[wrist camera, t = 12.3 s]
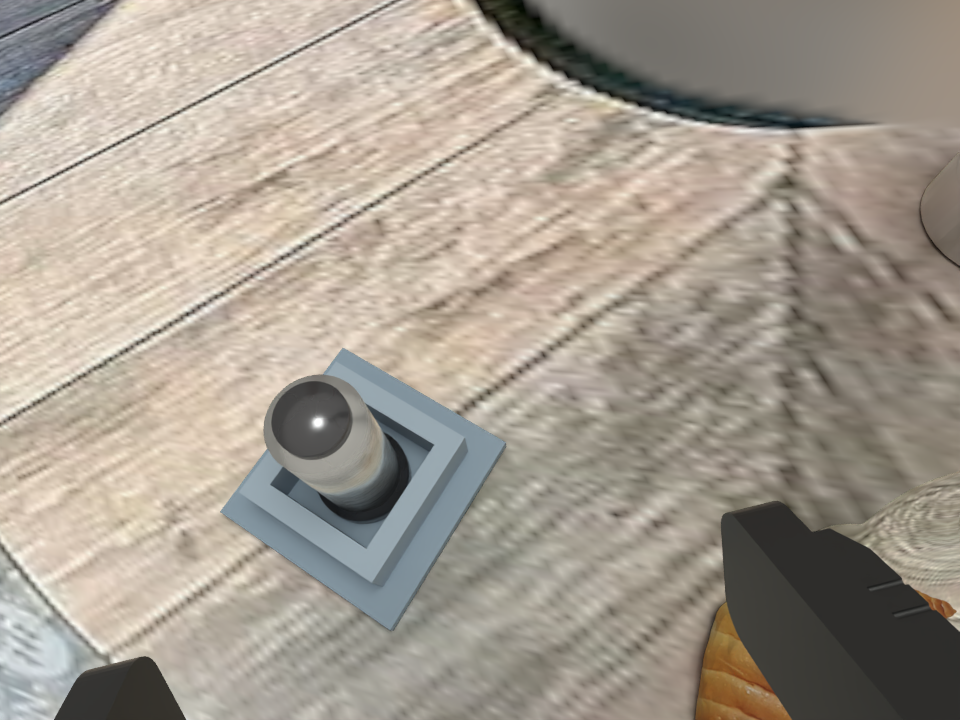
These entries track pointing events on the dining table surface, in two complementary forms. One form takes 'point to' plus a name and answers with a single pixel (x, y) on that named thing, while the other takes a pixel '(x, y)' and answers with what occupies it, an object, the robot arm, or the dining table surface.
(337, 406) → the thermos
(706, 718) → the pastry
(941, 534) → the beer glass
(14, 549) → the dining table surface
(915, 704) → the robot arm
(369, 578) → the dock
